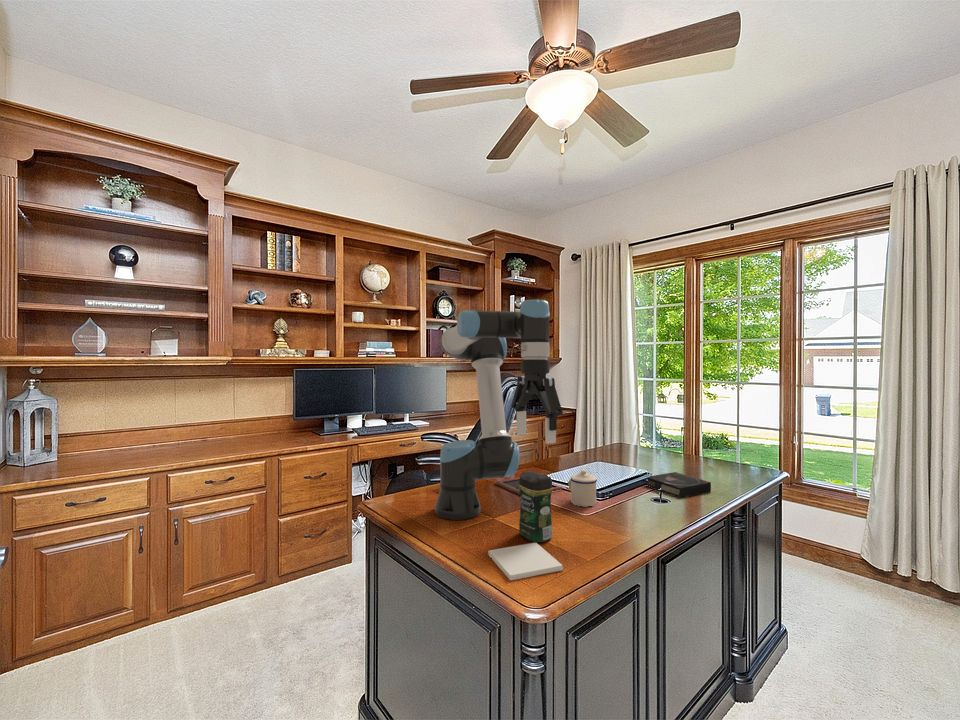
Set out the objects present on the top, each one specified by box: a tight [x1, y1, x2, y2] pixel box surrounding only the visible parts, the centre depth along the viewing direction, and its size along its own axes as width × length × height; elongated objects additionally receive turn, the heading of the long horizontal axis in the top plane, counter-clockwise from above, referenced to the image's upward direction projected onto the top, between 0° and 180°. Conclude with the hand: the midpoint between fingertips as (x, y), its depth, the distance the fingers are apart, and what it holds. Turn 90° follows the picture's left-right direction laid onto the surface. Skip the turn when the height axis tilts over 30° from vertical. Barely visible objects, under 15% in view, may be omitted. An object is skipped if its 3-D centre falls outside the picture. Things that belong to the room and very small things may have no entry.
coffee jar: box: [518, 470, 553, 543], centre depth 128 cm, size 10×8×19 cm
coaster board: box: [487, 542, 564, 581], centre depth 112 cm, size 14×14×1 cm
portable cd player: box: [646, 471, 712, 499], centre depth 173 cm, size 16×17×4 cm
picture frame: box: [495, 472, 562, 497], centre depth 177 cm, size 20×2×25 cm
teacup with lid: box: [568, 469, 598, 508], centre depth 158 cm, size 12×9×12 cm
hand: (535, 438), depth 118 cm, fingers open, 13 cm apart
